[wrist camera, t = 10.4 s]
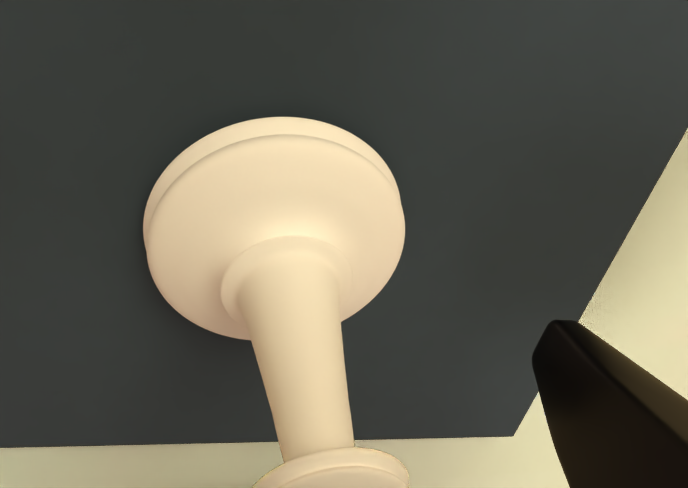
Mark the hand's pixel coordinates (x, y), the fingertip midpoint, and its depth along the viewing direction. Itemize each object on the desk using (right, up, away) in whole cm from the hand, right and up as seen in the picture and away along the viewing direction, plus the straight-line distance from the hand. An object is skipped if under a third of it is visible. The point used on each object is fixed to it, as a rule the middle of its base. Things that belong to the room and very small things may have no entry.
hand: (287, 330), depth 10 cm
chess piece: (0, +2, +3) cm, 3 cm away
